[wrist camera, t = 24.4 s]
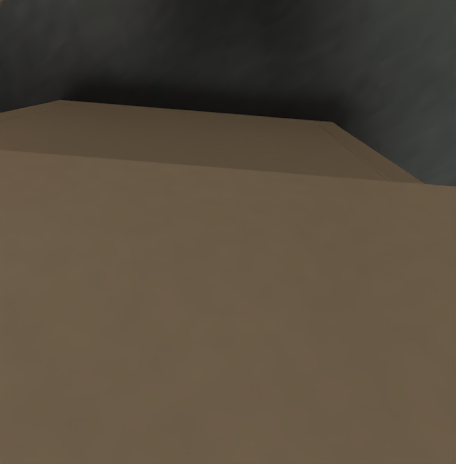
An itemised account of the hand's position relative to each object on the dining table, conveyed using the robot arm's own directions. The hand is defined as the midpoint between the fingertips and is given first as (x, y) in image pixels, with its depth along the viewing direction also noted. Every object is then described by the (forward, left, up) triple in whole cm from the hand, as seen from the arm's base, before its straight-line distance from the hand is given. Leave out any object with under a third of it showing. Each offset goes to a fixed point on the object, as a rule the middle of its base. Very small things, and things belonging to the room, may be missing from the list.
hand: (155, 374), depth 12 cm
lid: (-5, +2, +9) cm, 11 cm away
